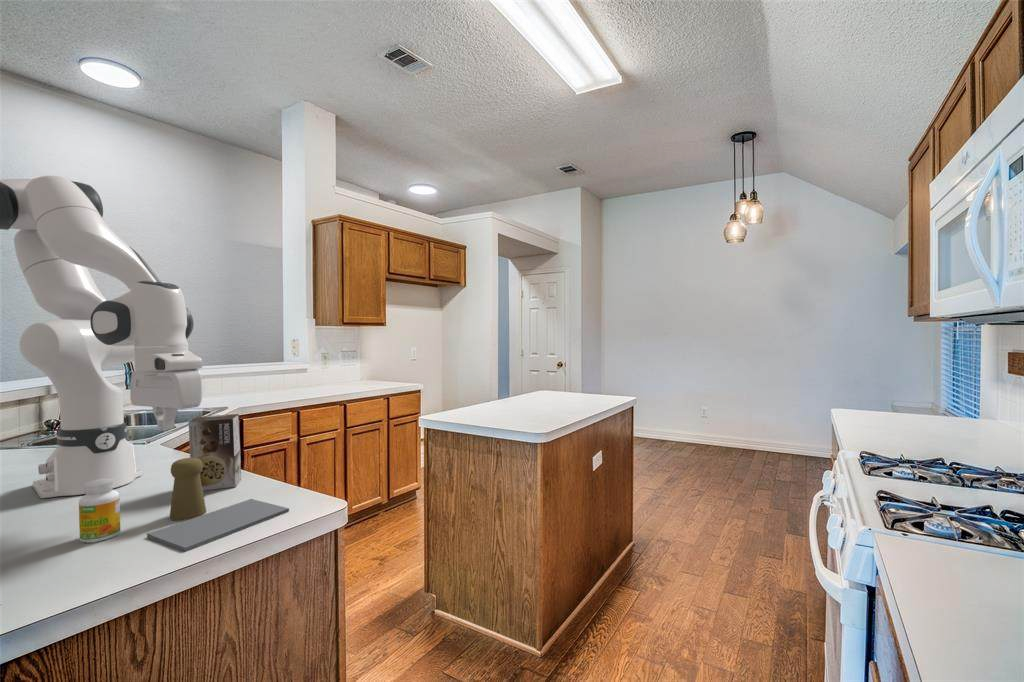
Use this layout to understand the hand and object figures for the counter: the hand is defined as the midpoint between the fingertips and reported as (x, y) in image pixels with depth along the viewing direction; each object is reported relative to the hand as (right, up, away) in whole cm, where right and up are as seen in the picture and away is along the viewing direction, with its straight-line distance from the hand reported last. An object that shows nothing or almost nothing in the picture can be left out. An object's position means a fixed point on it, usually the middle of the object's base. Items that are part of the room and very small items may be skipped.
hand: (166, 428), depth 95 cm
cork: (+7, -16, -3) cm, 18 cm away
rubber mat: (+16, -16, -8) cm, 24 cm away
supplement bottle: (-2, -17, -13) cm, 21 cm away
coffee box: (+1, -16, +14) cm, 22 cm away
